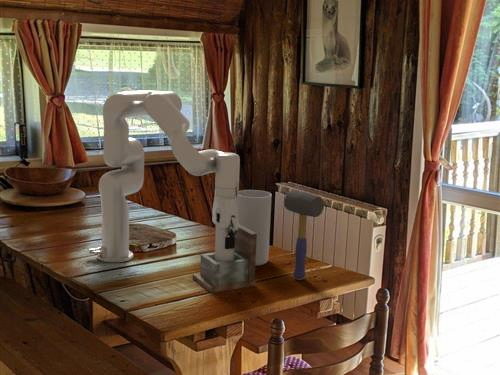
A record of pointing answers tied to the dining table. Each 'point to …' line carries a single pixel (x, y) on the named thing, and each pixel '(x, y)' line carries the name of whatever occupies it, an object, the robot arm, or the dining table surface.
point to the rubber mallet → (302, 223)
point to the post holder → (230, 265)
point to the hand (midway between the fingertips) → (224, 245)
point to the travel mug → (222, 244)
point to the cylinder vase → (256, 219)
